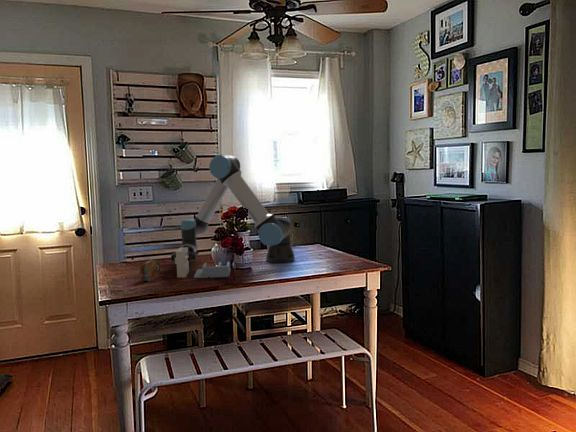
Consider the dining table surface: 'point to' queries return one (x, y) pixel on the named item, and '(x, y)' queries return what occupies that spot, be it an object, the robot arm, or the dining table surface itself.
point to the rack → (213, 271)
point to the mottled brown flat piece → (149, 270)
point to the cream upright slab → (182, 262)
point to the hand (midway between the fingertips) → (181, 260)
